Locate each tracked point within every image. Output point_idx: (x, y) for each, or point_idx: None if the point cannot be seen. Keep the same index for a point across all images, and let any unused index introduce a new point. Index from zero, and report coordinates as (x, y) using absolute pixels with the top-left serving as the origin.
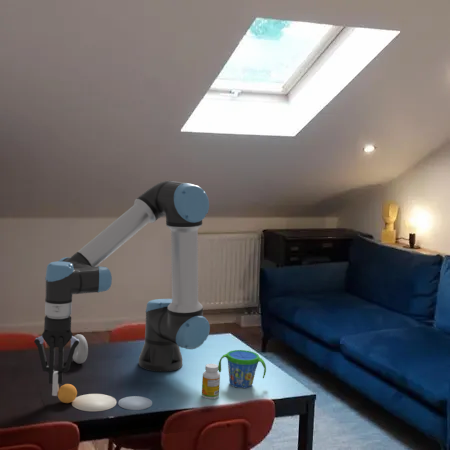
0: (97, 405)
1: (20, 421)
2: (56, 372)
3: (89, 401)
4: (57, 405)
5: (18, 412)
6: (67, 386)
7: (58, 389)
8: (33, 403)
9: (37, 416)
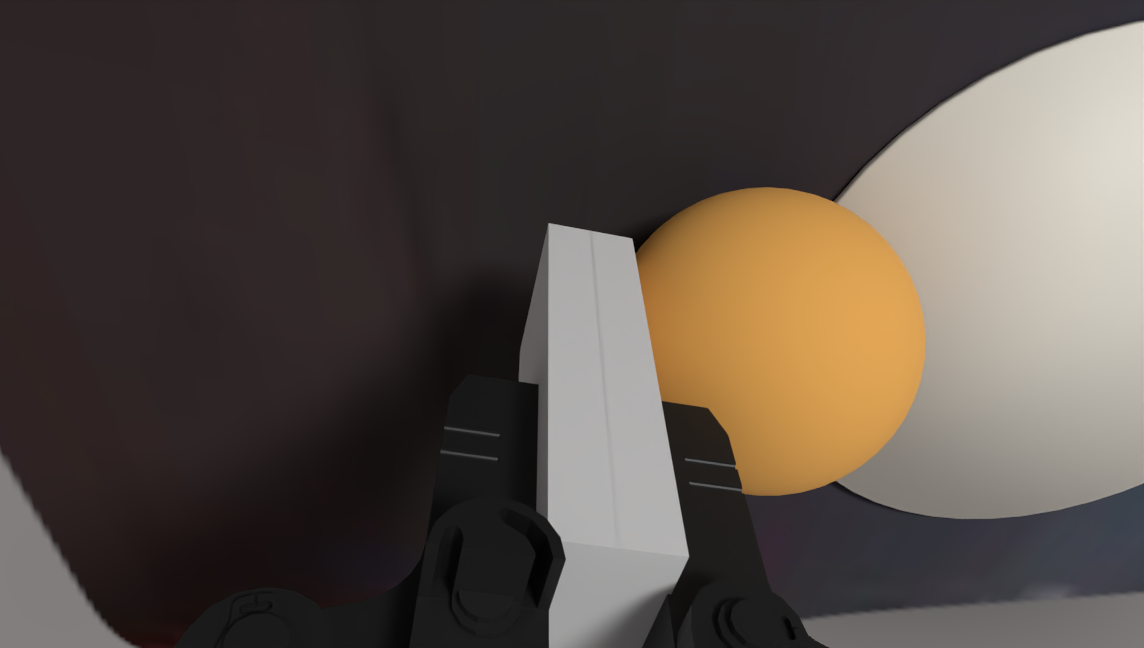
0: (1050, 416)
1: (224, 591)
2: (599, 622)
3: (1021, 300)
4: None
5: (144, 435)
6: (774, 486)
7: (634, 278)
8: (269, 223)
9: (370, 531)
